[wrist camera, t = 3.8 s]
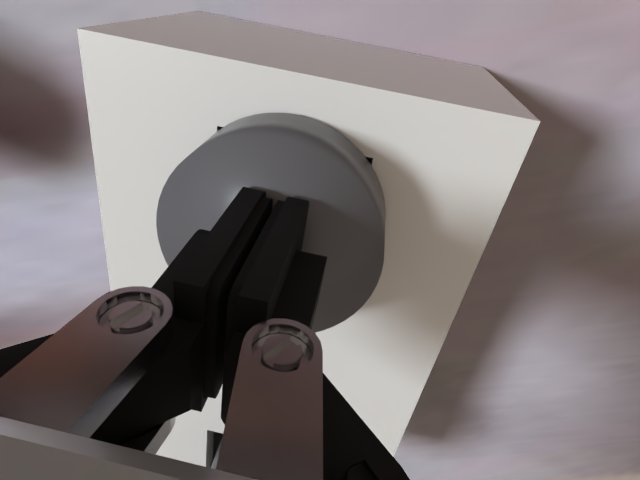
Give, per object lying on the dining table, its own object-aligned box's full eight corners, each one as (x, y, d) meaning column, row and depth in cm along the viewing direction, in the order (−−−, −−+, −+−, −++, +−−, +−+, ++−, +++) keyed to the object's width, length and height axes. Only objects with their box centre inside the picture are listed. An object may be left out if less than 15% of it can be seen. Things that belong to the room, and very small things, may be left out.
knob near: (369, 227, 19) (357, 354, 13) (239, 199, 19) (160, 310, 13) (405, 90, 16) (412, 165, 9) (248, 59, 16) (150, 111, 10)
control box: (366, 408, 29) (357, 538, 22) (194, 368, 29) (135, 484, 23) (483, 67, 17) (540, 121, 11) (197, 10, 18) (77, 28, 11)
